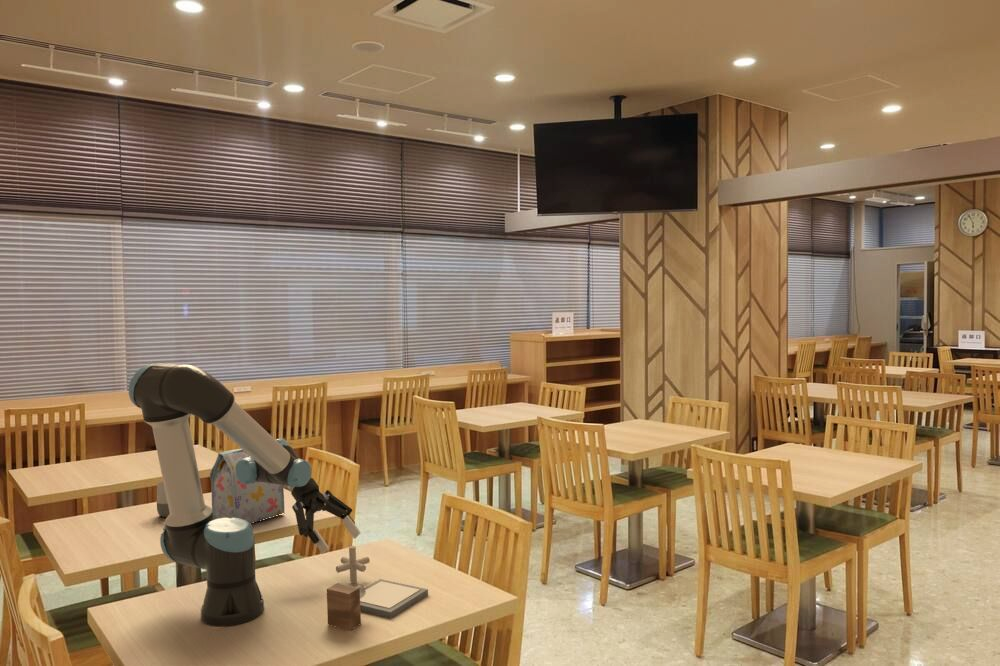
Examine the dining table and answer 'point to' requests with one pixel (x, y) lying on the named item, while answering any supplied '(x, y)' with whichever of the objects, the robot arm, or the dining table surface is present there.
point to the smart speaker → (162, 501)
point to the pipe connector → (352, 564)
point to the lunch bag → (242, 492)
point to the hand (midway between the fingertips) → (342, 543)
